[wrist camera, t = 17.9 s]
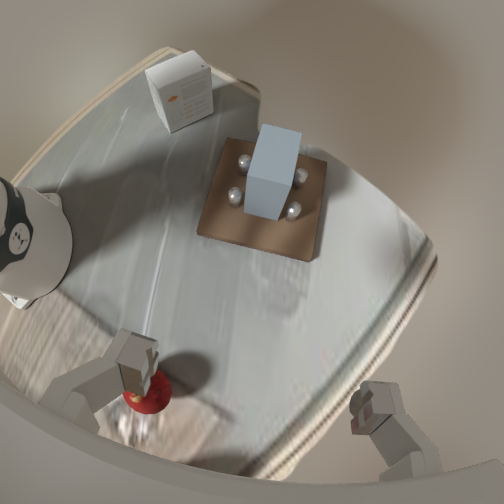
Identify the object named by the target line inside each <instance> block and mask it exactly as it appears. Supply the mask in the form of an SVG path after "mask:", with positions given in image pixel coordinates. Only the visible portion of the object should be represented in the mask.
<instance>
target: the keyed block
mask: <svg viewBox="0 0 504 504" xmlns="http://www.w3.org/2000/svg"><path fill="white" fill-rule="evenodd" d="M301 137H302V133H300V132H296V131H292V130H288V129H285V128H281V127H276V126H273V125H268V124H264V123H262V127H261V130H260V133H259V137H258V140H257V143H256V147H255V150H254V153H253V157H252V160H251V164H250V167H249V171H248V174H247V182H246V192H245V202H244V213H248V214H252V215H256V216H260V217H264V218H268V219H272V220H276V221H277V220H278V218H279V216H280V213H281V211H282V208H283V206H284V203H285V201H286V198H287V196H288V193H289V191H290V189H291V186H292V181H293V176H294V172H295V167H296V162H297V157H298V152H299V147H300V142H301Z"/></svg>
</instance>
